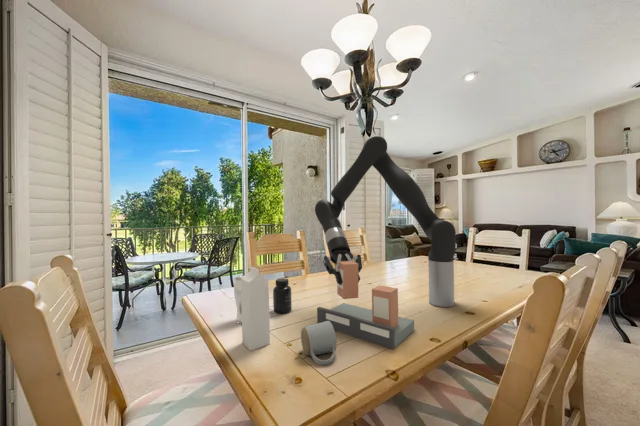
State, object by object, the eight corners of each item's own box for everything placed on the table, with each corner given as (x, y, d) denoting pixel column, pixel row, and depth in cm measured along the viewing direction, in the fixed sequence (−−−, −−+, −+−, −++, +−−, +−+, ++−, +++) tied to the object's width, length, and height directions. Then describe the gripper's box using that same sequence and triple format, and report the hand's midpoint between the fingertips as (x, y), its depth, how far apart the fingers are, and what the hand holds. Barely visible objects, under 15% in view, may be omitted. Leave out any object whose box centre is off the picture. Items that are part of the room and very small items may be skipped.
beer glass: (259, 317, 98) (258, 276, 98) (248, 325, 91) (246, 280, 91) (242, 315, 100) (241, 274, 100) (230, 323, 94) (229, 279, 93)
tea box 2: (380, 319, 86) (379, 285, 86) (398, 324, 82) (397, 288, 82) (372, 325, 82) (371, 289, 82) (390, 330, 78) (389, 292, 78)
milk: (250, 351, 74) (248, 271, 74) (242, 342, 79) (239, 267, 79) (270, 344, 78) (268, 267, 78) (261, 336, 83) (259, 264, 83)
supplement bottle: (290, 307, 108) (289, 276, 108) (292, 313, 101) (292, 281, 101) (272, 308, 106) (272, 278, 106) (274, 315, 100) (273, 282, 100)
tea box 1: (351, 292, 94) (351, 260, 94) (358, 297, 88) (358, 263, 88) (336, 293, 92) (336, 261, 92) (343, 299, 86) (343, 264, 86)
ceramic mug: (299, 348, 75) (299, 320, 75) (327, 342, 78) (326, 316, 78) (311, 369, 65) (311, 338, 65) (342, 362, 68) (342, 332, 68)
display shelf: (343, 310, 103) (343, 296, 103) (414, 329, 85) (413, 312, 85) (316, 324, 91) (316, 308, 91) (392, 349, 73) (392, 329, 73)
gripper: (320, 236, 95) (331, 278, 84) (357, 235, 99) (373, 275, 88) (316, 249, 100) (326, 290, 89) (351, 248, 104) (365, 287, 93)
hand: (349, 282), depth 88 cm, fingers closed on tea box 1, 5 cm apart
